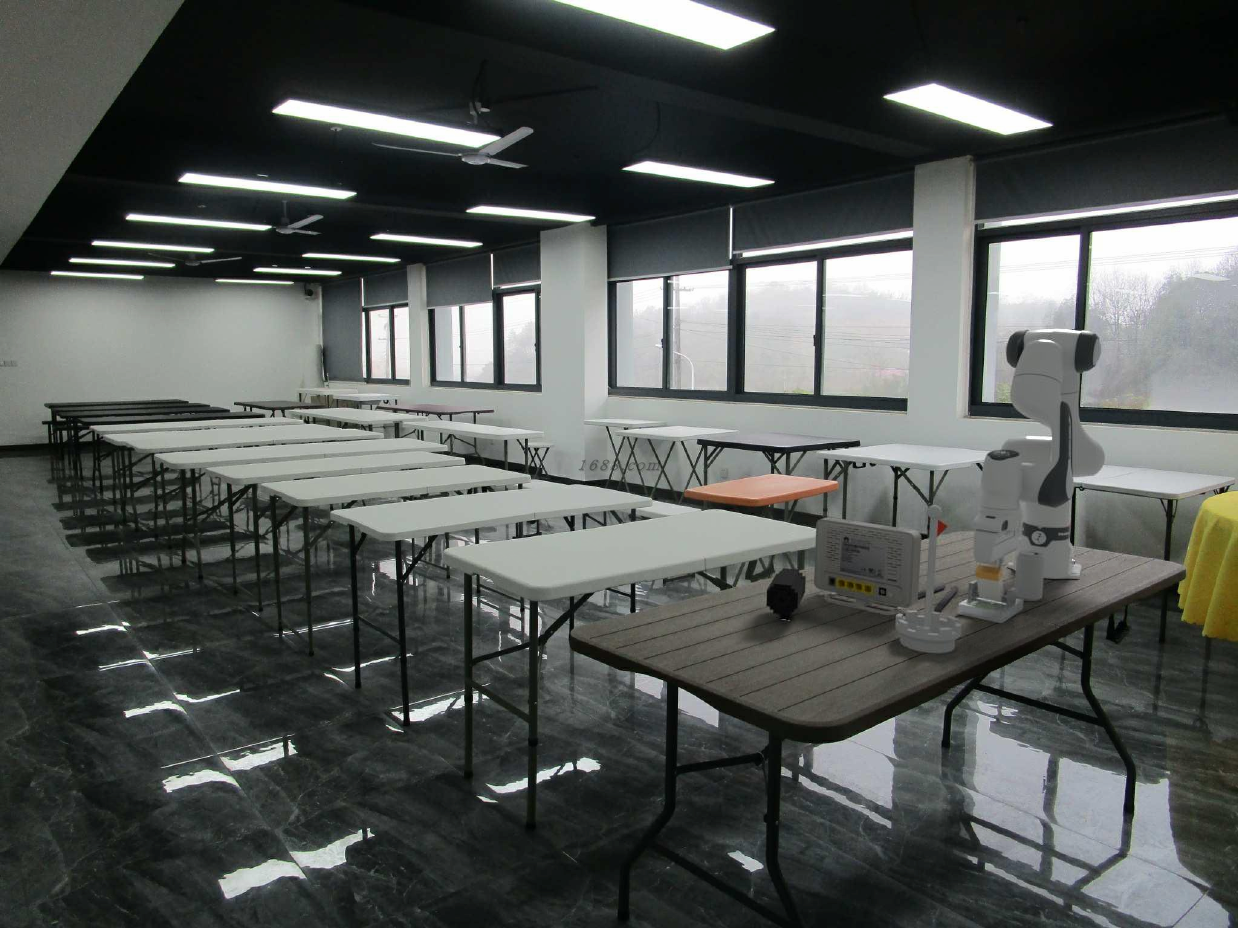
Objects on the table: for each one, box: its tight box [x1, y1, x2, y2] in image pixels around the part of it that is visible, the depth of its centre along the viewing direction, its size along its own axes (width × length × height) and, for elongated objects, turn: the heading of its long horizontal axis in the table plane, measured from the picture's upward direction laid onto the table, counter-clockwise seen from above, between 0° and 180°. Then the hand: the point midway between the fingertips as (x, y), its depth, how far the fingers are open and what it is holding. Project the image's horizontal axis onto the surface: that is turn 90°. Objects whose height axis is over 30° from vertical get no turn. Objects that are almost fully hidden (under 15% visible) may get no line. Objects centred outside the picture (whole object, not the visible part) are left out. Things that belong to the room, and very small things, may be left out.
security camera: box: [765, 567, 807, 621], centre depth 191 cm, size 7×18×10 cm, turn 161°
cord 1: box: [918, 582, 946, 599], centre depth 210 cm, size 19×1×1 cm, turn 132°
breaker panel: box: [957, 579, 1025, 624], centre depth 196 cm, size 15×10×6 cm, turn 137°
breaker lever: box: [974, 564, 1007, 603], centre depth 194 cm, size 2×7×9 cm, turn 46°
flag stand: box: [894, 504, 962, 654], centre depth 172 cm, size 13×13×30 cm
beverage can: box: [1014, 550, 1045, 602], centre depth 207 cm, size 6×6×12 cm
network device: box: [813, 516, 922, 616], centre depth 200 cm, size 26×9×20 cm, turn 47°
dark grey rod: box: [933, 585, 959, 613], centre depth 204 cm, size 23×1×1 cm, turn 147°
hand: (995, 574), depth 196 cm, fingers closed
